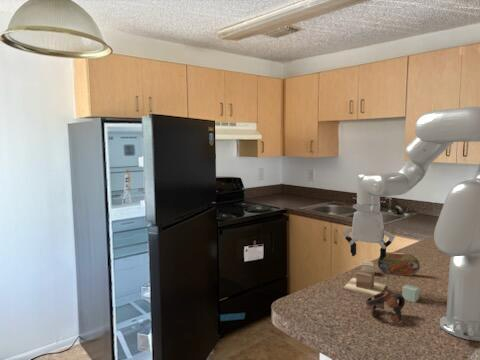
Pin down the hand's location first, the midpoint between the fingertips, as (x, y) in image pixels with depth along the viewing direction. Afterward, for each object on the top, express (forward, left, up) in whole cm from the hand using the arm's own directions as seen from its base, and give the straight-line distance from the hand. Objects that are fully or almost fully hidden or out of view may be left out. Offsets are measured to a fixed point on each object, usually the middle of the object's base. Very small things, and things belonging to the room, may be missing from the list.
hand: (367, 257), depth 129 cm
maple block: (+16, +4, -12) cm, 20 cm away
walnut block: (0, +1, -11) cm, 11 cm away
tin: (+22, -6, -12) cm, 26 cm away
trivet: (0, +1, -11) cm, 11 cm away
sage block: (-1, -14, -12) cm, 18 cm away
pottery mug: (-18, -10, -12) cm, 24 cm away
